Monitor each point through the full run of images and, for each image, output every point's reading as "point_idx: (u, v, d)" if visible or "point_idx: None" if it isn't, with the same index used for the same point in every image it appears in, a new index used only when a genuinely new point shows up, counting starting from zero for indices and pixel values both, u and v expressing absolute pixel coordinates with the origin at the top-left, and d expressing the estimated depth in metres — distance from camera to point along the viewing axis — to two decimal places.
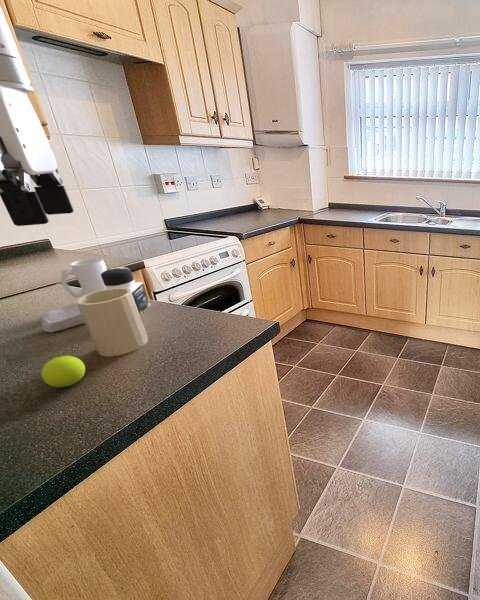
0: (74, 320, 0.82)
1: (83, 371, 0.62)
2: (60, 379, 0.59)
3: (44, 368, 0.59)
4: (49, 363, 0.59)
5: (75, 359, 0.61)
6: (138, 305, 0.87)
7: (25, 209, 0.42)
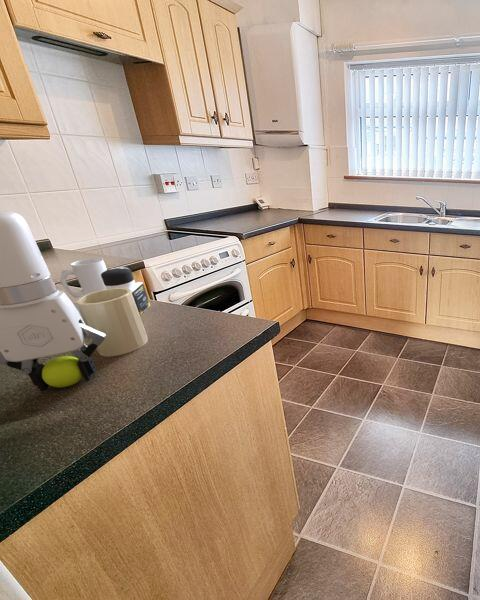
0: None
1: None
2: (60, 379, 0.59)
3: (44, 368, 0.59)
4: (49, 363, 0.59)
5: (75, 359, 0.61)
6: (138, 305, 0.87)
7: (93, 365, 0.63)
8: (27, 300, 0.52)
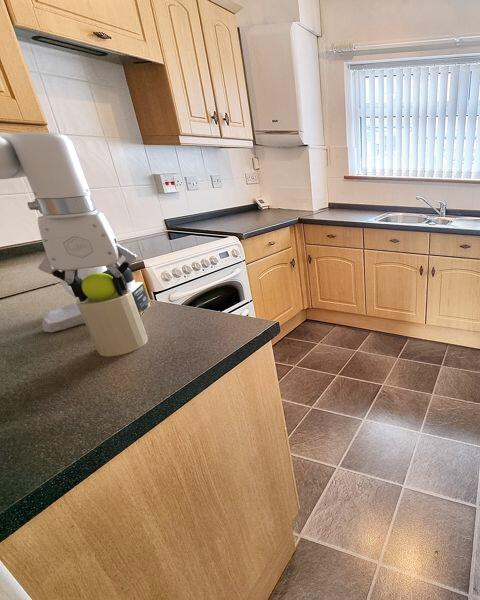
0: (74, 320, 0.82)
1: None
2: (98, 290, 0.66)
3: (84, 280, 0.66)
4: (88, 276, 0.67)
5: (110, 276, 0.69)
6: (138, 305, 0.87)
7: (125, 283, 0.71)
8: (73, 212, 0.60)
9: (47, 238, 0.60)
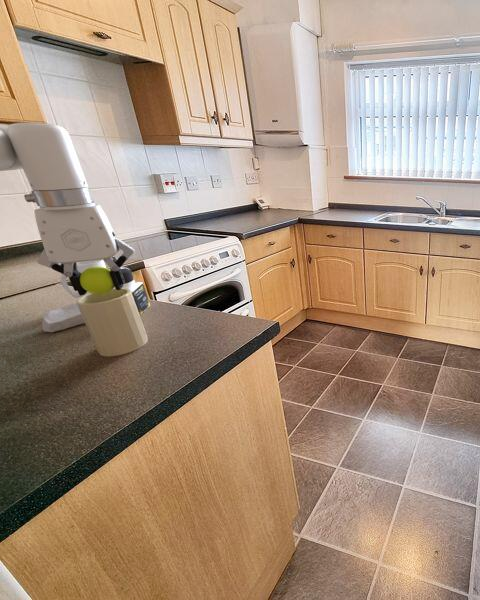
0: (74, 320, 0.82)
1: None
2: (96, 284, 0.66)
3: (82, 274, 0.66)
4: (86, 270, 0.66)
5: (108, 270, 0.68)
6: (138, 305, 0.87)
7: (122, 277, 0.70)
8: (70, 204, 0.60)
9: (44, 231, 0.60)
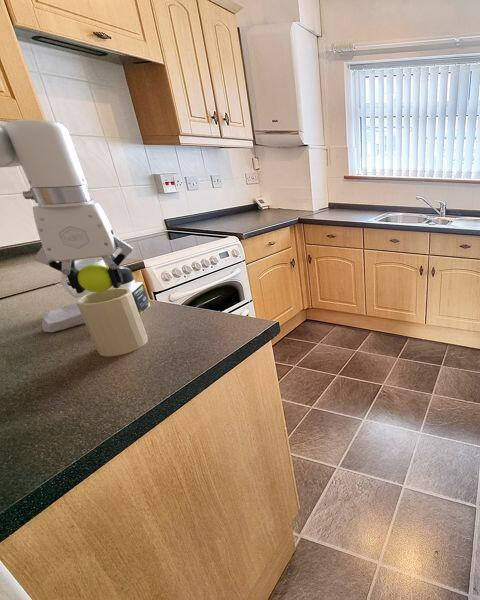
0: (74, 320, 0.82)
1: None
2: (94, 282, 0.66)
3: (80, 272, 0.65)
4: (84, 268, 0.66)
5: (106, 268, 0.68)
6: (138, 305, 0.87)
7: (121, 275, 0.70)
8: (69, 202, 0.59)
9: (42, 228, 0.60)
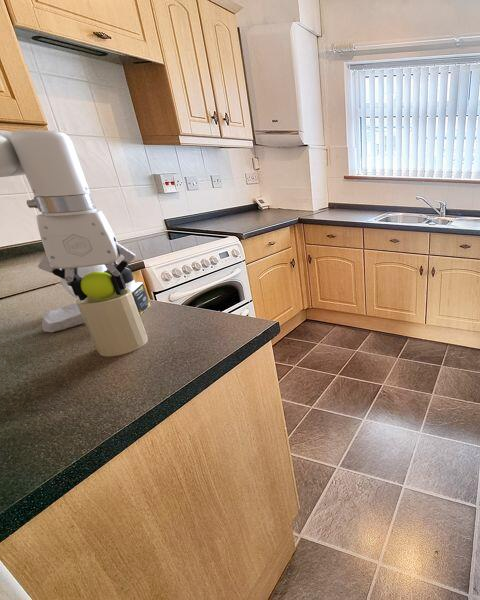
0: (74, 320, 0.82)
1: None
2: (97, 289, 0.66)
3: (83, 279, 0.66)
4: (87, 275, 0.66)
5: (109, 275, 0.69)
6: (138, 305, 0.87)
7: (123, 282, 0.70)
8: (72, 210, 0.60)
9: (46, 236, 0.60)
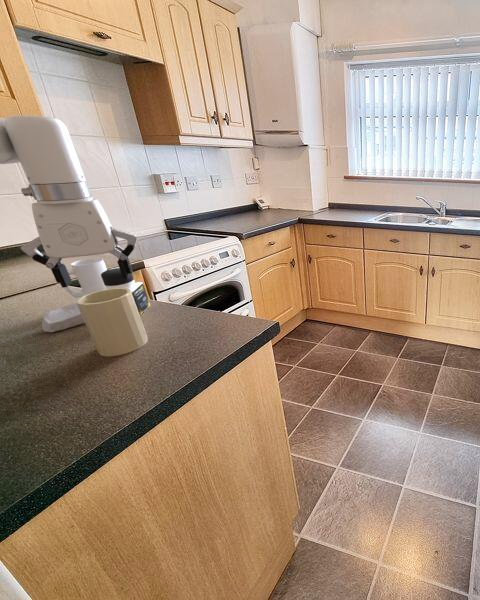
0: (74, 320, 0.82)
1: None
2: None
3: None
4: None
5: None
6: (138, 305, 0.87)
7: (130, 266, 0.70)
8: (68, 198, 0.59)
9: (41, 225, 0.59)
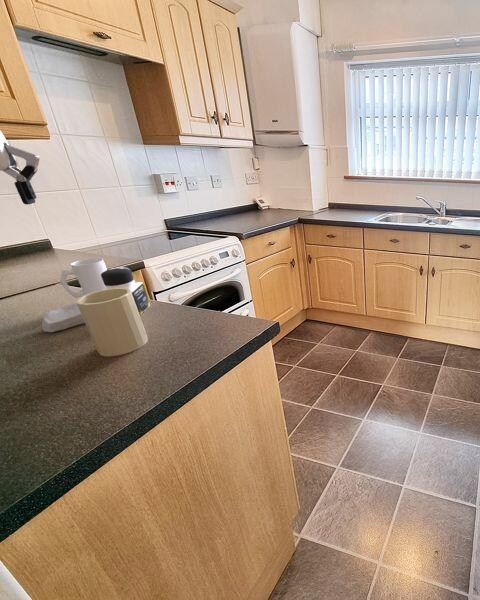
0: (74, 320, 0.82)
1: None
2: None
3: None
4: None
5: None
6: (138, 305, 0.87)
7: (32, 192, 0.64)
8: None
9: None
